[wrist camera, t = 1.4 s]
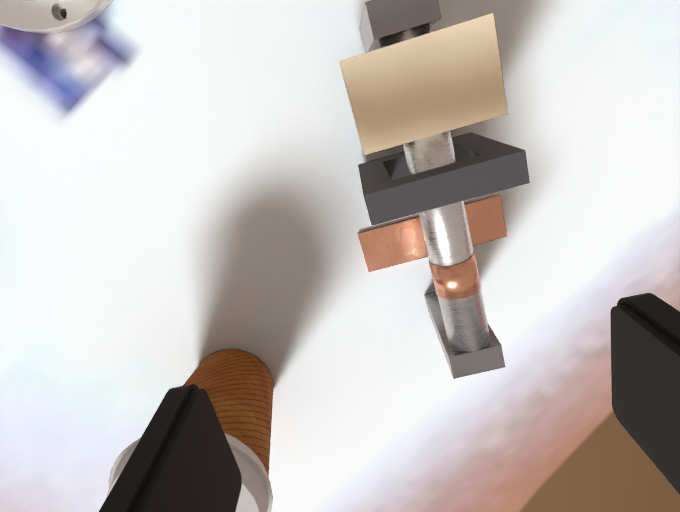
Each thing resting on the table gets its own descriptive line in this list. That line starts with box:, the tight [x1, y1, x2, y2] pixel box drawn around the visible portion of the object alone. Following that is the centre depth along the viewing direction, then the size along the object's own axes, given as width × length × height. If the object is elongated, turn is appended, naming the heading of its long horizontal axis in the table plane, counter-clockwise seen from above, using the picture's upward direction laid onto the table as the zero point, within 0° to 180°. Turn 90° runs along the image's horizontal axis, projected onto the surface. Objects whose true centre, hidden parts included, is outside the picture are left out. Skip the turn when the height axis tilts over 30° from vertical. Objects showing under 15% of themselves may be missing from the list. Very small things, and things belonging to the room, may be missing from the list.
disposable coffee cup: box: [107, 349, 273, 512], centre depth 30 cm, size 10×10×12 cm
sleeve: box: [340, 13, 508, 155], centre depth 22 cm, size 4×6×7 cm, turn 106°
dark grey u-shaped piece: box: [358, 133, 530, 225], centre depth 24 cm, size 2×7×9 cm, turn 106°
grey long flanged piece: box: [358, 0, 506, 379], centre depth 26 cm, size 20×10×8 cm, turn 16°
